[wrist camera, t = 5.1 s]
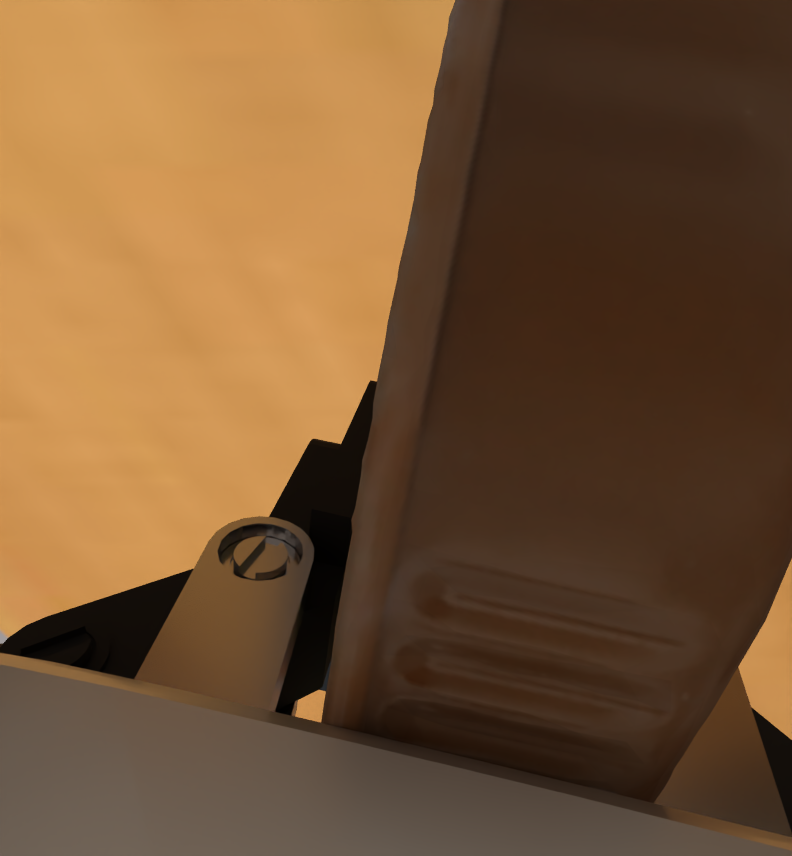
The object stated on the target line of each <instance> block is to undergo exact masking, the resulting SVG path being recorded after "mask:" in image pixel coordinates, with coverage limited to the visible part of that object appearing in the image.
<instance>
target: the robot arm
mask: <svg viewBox="0 0 792 856" xmlns="http://www.w3.org/2000/svg"><path fill="white" fill-rule="evenodd" d="M376 386H377V382H375V381H370V382H369V384H368V386H367V389H366V391H365V393H364V395H363V397H362V400H361V402H360V404H359V406H358V408H357V411H356V413H355V415H354V417H353V419H352V422H351V424H350V426H349V428H348V430H347V433H346V435H345V437H344V439H343V441H342V444H337V443H332V442H327V441H323V440H318V439H312V440H311V441H310V443H309V444H308V446H307V448H306V450H305V452H304V454H303V455H302V457H301V459H300V461H299V463H298V465H297V466H296V468H295V470H294V472H293V474H292V476H291V477H290V479H289V481H288V483H287V485H286V487H285V488H284V490H283V492H282V494H281V496H280V498H279V499H278V501H277V503H276V505H275V507H274V509H273V511H272V512H271V514H270V516H269V517H260V516H258V517H250V518H243V519H240V520H237V521H234V522H231V523H229V524H227V525H226V526H224V527H222V528H221V529H219V530H218V531H217V532H216V533H215V534H214V535H213V537H212V538H211V539H210V540H209V542H208V543H207V545H206V547H205V549H204V551H203V553H202V555H201V556H200V558H199V560H198V562H197V564H196V566H195V568H194V569H191V570H188V571H185V572H182V573H179V574H176V575H173V576H170V577H167V578H164V579H160V580H157V581H154V582H151V583H148V584H145V585H142V586H139V587H136V588H133V589H130V590H127V591H124V592H121V593H118V594H115V595H112V596H109V597H106V598H102V599H99V600H96V601H93V602H90V603H87V604H84V605H81V606H78V607H75V608H72V609H69V610H66V611H63V612H60V613H57V614H54V615H51V616H48V617H45V618H42V619H40V620H38V621H36V622H33V623H31V624H29V625H26V626H25V627H23V628H22V629H20V630H19V631H18V632H16V633H15V634H13V635H12V636H10V637H9V638H8V639H7V640H6V641H5V642H4V643H3V644H0V856H792V740H791V739H790V738H788V737H787V736H786V735H785V734H783V733H782V732H781V731H780V730H778V729H777V728H776V727H775V726H774V725H772V724H771V723H770V722H769V721H767V720H766V719H765V718H764V717H763V716H761V715H760V714H759V713H758V712H756V711H755V710H754V709H753V708H752V707H751V705H750V702H749V699H748V696H747V693H746V690H745V687H744V684H743V681H742V678H741V674H740V671H739V668H737V670H736V671H735V673H734V675H733V676H732V678H731V680H730V681H729V683H728V685H727V687H726V688H725V690H724V692H723V693H722V695H721V697H720V699H719V700H718V702H717V704H716V705H715V707H714V709H713V710H712V712H711V714H710V716H709V717H708V718H707V720H706V721H705V722H704V724H703V725H702V727H701V728H700V729H699V731H698V732H697V734H696V735H695V737H694V739H693V740H692V742H691V744H690V745H689V747H688V749H687V750H686V752H685V754H684V755H683V757H682V758H681V759H680V761H679V762H678V764H677V765H676V766H675V768H674V770H673V772H672V775H671V777H670V779H669V781H668V782H667V784H666V786H665V787H664V789H663V790H662V792H661V793H660V795H659V796H658V797H657V799H656V800H655V802H654V803H651V802H647V801H643V800H638V799H634V798H630V797H626V796H622V795H618V794H614V793H610V792H606V791H602V790H598V789H594V788H590V787H586V786H582V785H577V784H573V783H569V782H565V781H561V780H557V779H553V778H549V777H544V776H540V775H536V774H532V773H528V772H524V771H520V770H516V769H511V768H507V767H503V766H499V765H495V764H491V763H487V762H483V761H478V760H474V759H470V758H466V757H462V756H458V755H453V754H449V753H445V752H441V751H437V750H433V749H429V748H424V747H420V746H416V745H412V744H408V743H404V742H399V741H395V740H391V739H387V738H383V737H379V736H374V735H370V734H366V733H362V732H358V731H354V730H349V729H345V728H341V727H337V726H332V725H328V724H324V723H320V722H315V721H311V720H307V719H303V718H298V717H295V714H296V710H297V702H298V700H299V699H301V698H303V697H305V696H307V695H309V694H311V693H313V692H315V691H317V690H323V691H326V690H327V684H328V678H329V672H330V666H331V660H332V651H333V642H334V634H335V626H336V620H337V614H338V609H339V603H340V597H341V592H342V586H343V580H344V575H345V569H346V563H347V557H348V552H349V547H350V542H351V537H352V522H351V519H352V516H353V513H354V510H355V506H356V501H357V495H358V490H359V484H360V478H361V470H362V459H363V456H364V452H365V449H366V445H367V442H368V438H369V433H370V428H371V423H372V419H373V402H374V396H375V391H376Z"/></svg>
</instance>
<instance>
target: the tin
mask: <svg viewBox="0 0 792 856" xmlns="http://www.w3.org/2000/svg"><path fill="white" fill-rule="evenodd" d="M351 522H352V537H351V542H350V547H349V552H348V557H347V563H346V569H345V575H344V580H343V586H342V592H341V597H340V603H339V609H338V614H337V620H336V626H335V634H334V642H333V651H332V660H331V666H330V672H329V678H328V684H327V690H326V695H325V701H324V708H323V715H322V722H321V723H324V724H328V725H332V726H337V727H341V728H345V729H349V730H354V731H358V732H362V733H366V734H370V735H374V736H379V737H383V738H387V739H391V740H395V741H399V742H404V743H408V744H412V745H416V746H420V747H424V748H429V749H433V750H437V751H441V752H445V753H449V754H453V755H458V756H462V757H466V758H470V759H474V760H478V761H483V762H487V763H491V764H495V765H499V766H503V767H507V768H511V769H516V770H520V771H524V772H528V773H532V774H536V775H540V776H544V777H549V778H553V779H557V780H561V781H565V782H569V783H573V784H577V785H582V786H586V787H590V788H594V789H598V790H602V791H606V792H610V793H614V794H618V795H622V796H626V797H630V798H634V799H638V800H643V801H647V802H651V803H654V802H655V800H656V799H657V797H658V796H659V795H660V793H661V792H662V790H663V789H664V787H665V786H666V784H667V782H668V781H669V779H670V777H671V775H672V772H673V770H674V768H675V766H676V765H677V764H678V762H679V761H680V759H681V758H682V757H683V755H684V754H685V752H686V750H687V749H688V747H689V745H690V744H691V742H692V740H693V739H694V737H695V735H696V734H697V732H698V731H699V729H700V728H701V727H702V725H703V724H704V722H705V721H706V720H707V718H708V717H709V716H710V714H711V712H712V710H713V709H714V707H715V705H716V704H717V702H718V700H719V699H720V697H721V695H722V693H723V692H724V690H725V688H726V687H727V685H728V683H729V681H730V680H731V678H732V676H733V675H734V673H735V671H736V670H737V668H738V666H739V664H740V663H741V661H742V659H743V658H744V656H745V654H746V653H747V651H748V649H749V647H750V646H751V644H752V642H753V641H754V639H755V637H756V636H757V634H758V632H759V630H760V629H761V627H762V625H763V624H764V622H765V620H766V618H767V615H768V613H769V611H770V608H771V606H772V604H773V601H774V599H775V596H776V594H777V592H778V589H779V587H780V585H781V582H782V580H783V577H784V575H785V573H786V570H787V568H788V566H789V563H790V561H791V559H792V0H456V1H455V3H454V6H453V9H452V11H451V14H450V16H449V24H448V32H447V36H446V40H445V44H444V48H443V54H442V60H441V66H440V70H439V74H438V77H437V81H436V85H435V90H434V101H433V107H432V110H431V113H430V116H429V119H428V124H427V130H426V136H425V141H424V147H423V153H422V158H421V163H420V166H419V169H418V174H417V182H416V189H415V196H414V202H413V207H412V212H411V217H410V221H409V226H408V231H407V236H406V240H405V244H404V248H403V253H402V257H401V261H400V265H399V271H398V278H397V283H396V287H395V292H394V297H393V301H392V306H391V310H390V315H389V319H388V325H387V332H386V338H385V345H384V350H383V354H382V359H381V364H380V369H379V374H378V380H377V386H376V391H375V396H374V402H373V419H372V423H371V428H370V433H369V438H368V442H367V445H366V449H365V452H364V456H363V459H362V470H361V478H360V484H359V490H358V495H357V501H356V506H355V510H354V513H353V516H352V519H351Z"/></svg>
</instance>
